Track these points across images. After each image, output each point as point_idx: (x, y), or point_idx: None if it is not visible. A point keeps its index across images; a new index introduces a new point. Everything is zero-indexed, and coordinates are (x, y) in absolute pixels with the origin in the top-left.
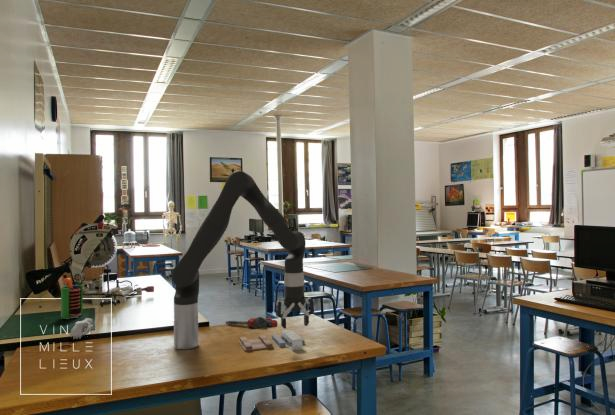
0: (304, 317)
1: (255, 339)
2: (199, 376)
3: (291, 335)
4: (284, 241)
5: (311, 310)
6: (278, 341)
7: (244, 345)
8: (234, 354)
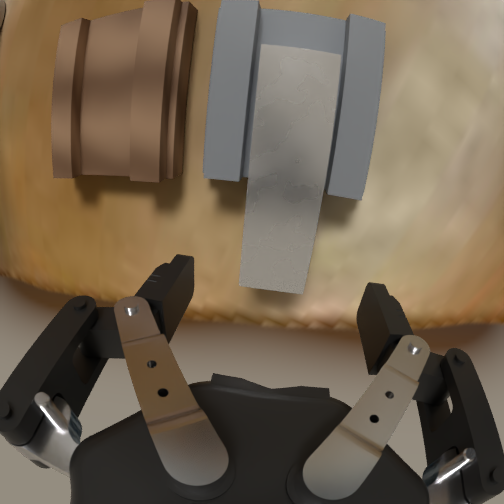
0: (379, 335)
1: (129, 22)
2: (4, 272)
3: (275, 201)
4: None
5: (428, 415)
6: (207, 143)
7: (55, 134)
8: (47, 139)
